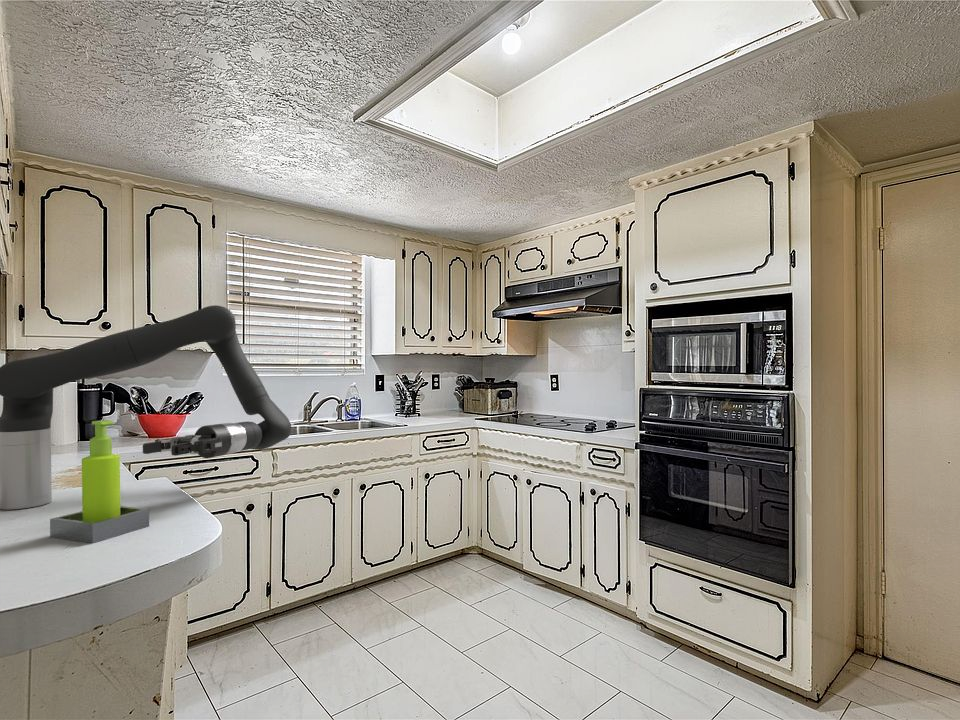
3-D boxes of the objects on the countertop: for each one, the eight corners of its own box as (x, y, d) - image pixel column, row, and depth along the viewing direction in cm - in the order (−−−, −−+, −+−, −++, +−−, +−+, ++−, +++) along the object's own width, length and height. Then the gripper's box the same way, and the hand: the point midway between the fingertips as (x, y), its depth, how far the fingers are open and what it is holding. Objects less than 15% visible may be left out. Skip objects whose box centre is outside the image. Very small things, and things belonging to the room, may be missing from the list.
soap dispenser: (91, 534, 98) (89, 422, 98) (77, 527, 102) (76, 421, 102) (128, 525, 102) (126, 419, 102) (113, 520, 106) (112, 418, 107)
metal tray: (50, 537, 99) (50, 518, 99) (108, 521, 109) (108, 504, 109) (92, 543, 95) (92, 524, 95) (149, 526, 105) (149, 508, 105)
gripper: (198, 423, 131) (134, 431, 116) (243, 424, 126) (182, 432, 111) (198, 454, 131) (134, 466, 116) (244, 456, 126) (183, 469, 111)
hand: (158, 449), depth 113 cm, fingers open, 8 cm apart
